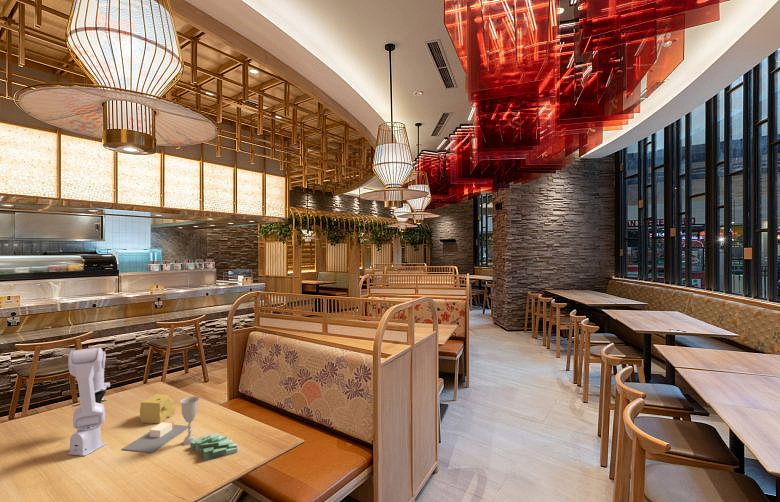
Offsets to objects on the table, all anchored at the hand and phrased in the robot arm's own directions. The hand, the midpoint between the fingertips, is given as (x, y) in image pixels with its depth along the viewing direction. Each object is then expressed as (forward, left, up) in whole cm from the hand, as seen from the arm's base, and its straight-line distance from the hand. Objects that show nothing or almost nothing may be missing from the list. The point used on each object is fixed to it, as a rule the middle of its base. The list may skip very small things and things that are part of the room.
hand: (95, 408), depth 164 cm
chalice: (-1, -47, -11) cm, 48 cm away
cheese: (+16, -17, -11) cm, 26 cm away
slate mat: (0, -31, -10) cm, 33 cm away
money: (-4, -62, -11) cm, 63 cm away
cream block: (0, -30, -8) cm, 31 cm away
